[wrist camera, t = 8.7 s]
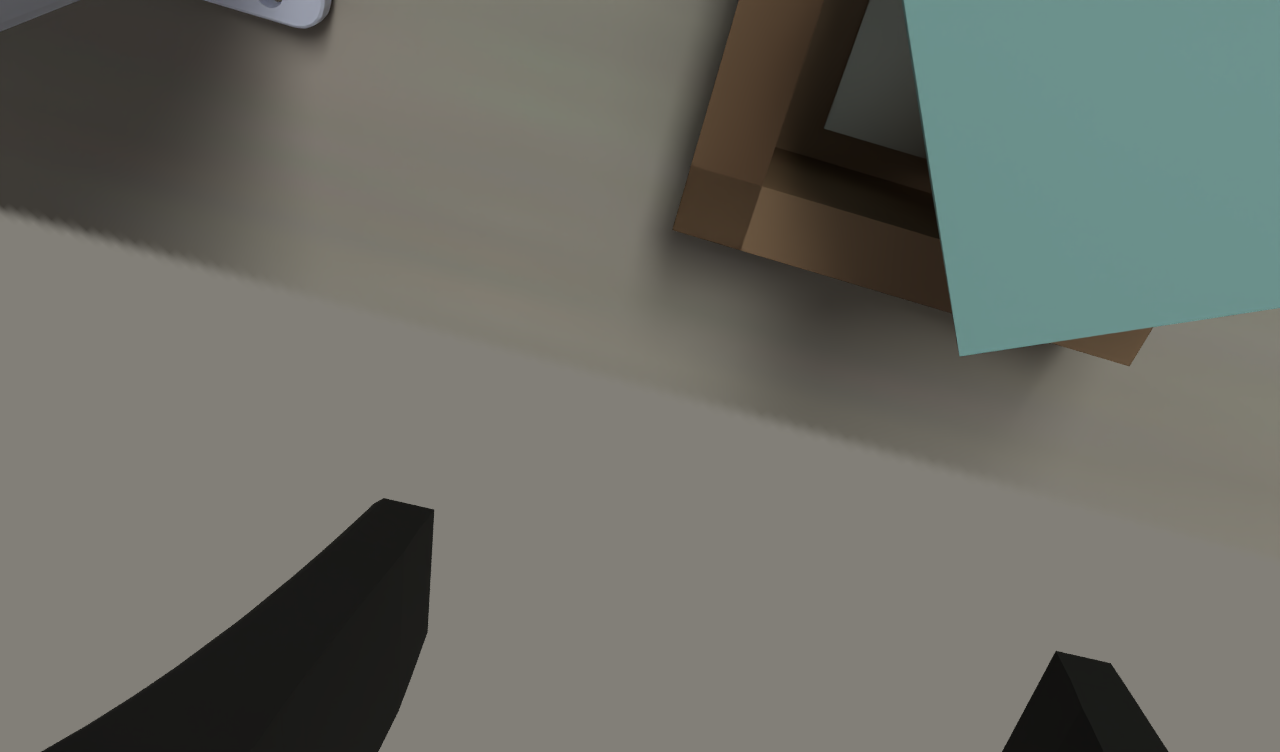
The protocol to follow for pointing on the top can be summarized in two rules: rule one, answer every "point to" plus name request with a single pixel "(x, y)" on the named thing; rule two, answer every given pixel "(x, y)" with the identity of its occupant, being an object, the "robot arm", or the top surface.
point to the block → (1100, 162)
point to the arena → (828, 154)
